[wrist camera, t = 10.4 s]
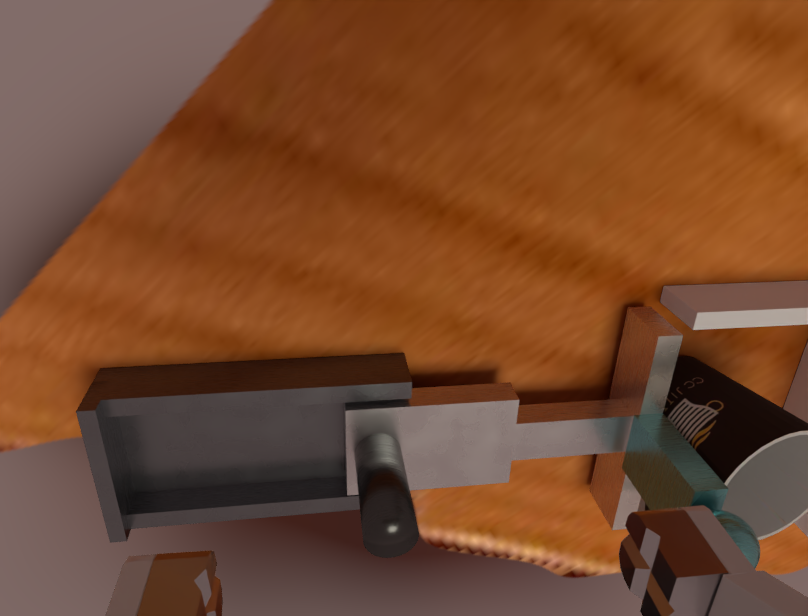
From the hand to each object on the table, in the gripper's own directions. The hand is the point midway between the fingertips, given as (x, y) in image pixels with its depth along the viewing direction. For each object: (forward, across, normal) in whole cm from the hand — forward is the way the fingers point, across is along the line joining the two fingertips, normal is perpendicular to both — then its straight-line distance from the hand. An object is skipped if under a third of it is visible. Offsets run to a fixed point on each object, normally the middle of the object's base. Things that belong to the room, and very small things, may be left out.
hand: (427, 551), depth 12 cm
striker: (+25, -9, +17) cm, 32 cm away
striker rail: (+26, +7, +16) cm, 31 cm away
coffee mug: (+26, -21, +17) cm, 37 cm away
